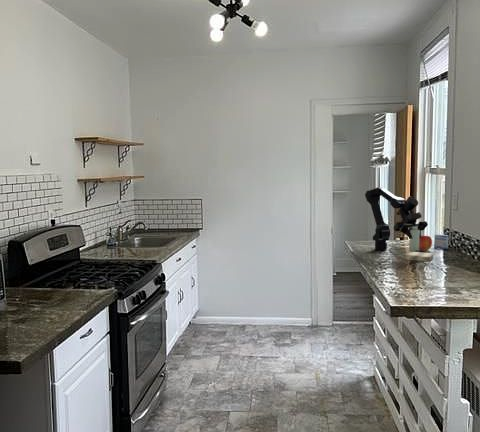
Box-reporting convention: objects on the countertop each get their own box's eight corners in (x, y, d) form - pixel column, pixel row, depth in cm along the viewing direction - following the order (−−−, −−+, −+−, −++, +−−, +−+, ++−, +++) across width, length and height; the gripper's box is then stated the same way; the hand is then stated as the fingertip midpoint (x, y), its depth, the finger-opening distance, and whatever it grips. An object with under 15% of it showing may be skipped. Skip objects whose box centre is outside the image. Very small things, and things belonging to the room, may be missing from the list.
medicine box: (433, 248, 304) (434, 234, 304) (434, 247, 308) (435, 234, 307) (447, 249, 301) (447, 235, 300) (447, 248, 305) (448, 234, 304)
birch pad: (405, 259, 268) (405, 255, 268) (409, 255, 279) (409, 251, 279) (429, 261, 262) (430, 257, 261) (433, 257, 273) (433, 253, 273)
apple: (434, 252, 290) (434, 236, 289) (418, 252, 290) (419, 236, 289) (428, 249, 299) (428, 233, 298) (413, 249, 300) (413, 233, 299)
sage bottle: (411, 250, 265) (412, 227, 264) (408, 248, 270) (409, 225, 269) (420, 250, 265) (421, 227, 264) (416, 248, 270) (417, 225, 269)
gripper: (396, 207, 267) (406, 229, 258) (426, 207, 271) (437, 229, 261) (389, 220, 276) (398, 241, 266) (418, 219, 279) (428, 240, 270)
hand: (416, 238), depth 266 cm, fingers closed on sage bottle, 5 cm apart
